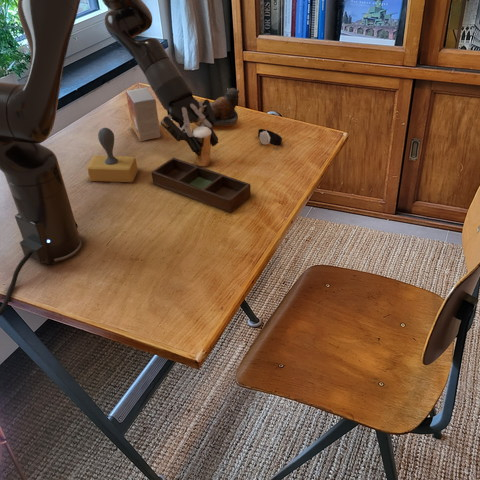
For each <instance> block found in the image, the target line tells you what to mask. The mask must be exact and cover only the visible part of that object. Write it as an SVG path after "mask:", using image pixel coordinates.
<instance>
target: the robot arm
mask: <svg viewBox="0 0 480 480" xmlns="http://www.w3.org/2000/svg"><path fill="white" fill-rule="evenodd" d="M102 3H103V4H104V5H105V7H107V8H108V9H110V10H109V11H108V12H106V14H105V16H104V25H105V29H106V31H107V33H108V34H109V35H110V36H111V37H112V38H113V40H115V41H116V42H117V43H118V44H120V45H121V46H122V48H124V49H125V50H126V51H127V52H128V53H129V54H130V55H131V56H132V59H134V60H135V62H136V63H137V66H138V67H139V69H140V71H142V73H143V74H144V76H145V79H146V81H147V83H148V85H149V86H150V89H151V90H152V91H153V93H154V94H155V96H156V98H157V99H158V101H159V103H160V104H161V106H162V108H163V109H164V110H165V111H166V112H167V115H166V116H164V117H163V119H162V120H161V121H160V125H161V126H162V128H163V129H165V130H166V131H167V132H168V133H169V135H170V136H172V138H173V139H174V140H176V141H177V142H181V141H184V142H185V143H187V145H188V147H189V148H190V150H191V152H192V153H194V154H195V153H196V154H198V153H200V152H201V151H202V149H201V147H200V145H199V144H198V142H197V140H196V139H195V137H194V136H193V137H192V129H191V124H194V125H195V126H196V127H202V123H203V124H204V127H208V128H209V129H210V130H211V147H215V146H217V145H218V144H219V137H218V135H217V134H216V132H215V131H214V130H213V126H212V125H213V124H214V123H215V122H216V119H215V117H214V114H213V111H212V108H211V105H210V103H211V102H210V100H209V99H205V100H203V101H199V100H198V99H196V98H195V97H194V95H193V92H192V90H191V88H190V87H189V85H188V83H187V82H186V80H185V78H184V77H183V75H182V73H181V72H180V70H179V69H178V67H177V66H176V64H175V63H174V62H173V60H172V59H171V58H170V56H169V55H168V53H167V51H166V49H165V47H164V46H163V45H162V43H161V42H160V40H159V39H158V38H155V37H150V38H145V39H140V40H139V39H138V40H137V39H134V38H135V37H136V38H137V36H139V35H141V34H143V33H144V32H146V31H148V30H149V29H150V28H151V27H152V25H153V15H152V11H151V10H150V8H149V7H148V6H147V5H146V3H145V2H144V1H143V0H102ZM80 4H81V0H17V13H18V19H19V23H20V26H21V28H22V31H23V33H24V36H25V38H26V41H27V44H28V47H29V51H30V64H29V68H28V73H27V76H26V80H25V82H24V83H23V84H20V83H8V82H0V171H1V172H2V173H3V174H4V177H5V179H6V180H5V181H6V182H7V185H8V188H9V190H10V193H11V197H12V200H13V202H14V204H15V205H14V206H15V208H16V210H17V213H16V214H15V215H14V218H15V221H16V224H17V226H18V230H19V232H20V234H21V237H22V238H21V239H22V240H20V241H19V245H20V247H21V250H22V252H23V255H24V256H23V257H22V259H21V260H20V262H19V263H18V264H17V266H16V268H15V270H14V271H13V275H12V278H11V280H10V283H9V287H8V289H7V292H6V294H5V297H4V300H3V302H2V304H1V306H0V317H1V316H2V315H3V313H4V312H5V310H6V308H7V307H8V305H9V302H10V300H11V297H12V294H13V292H14V289H15V287H16V284H17V280H18V277H19V274H20V272H21V270H22V268H23V267H24V265H25V264H26V263H27V262H28V260H29V259H31V260H33V261H36V262H37V263H40V264H42V263H44V264H46V265H47V266H52V265H53V264H55V263H61V262H63V261H64V262H65V261H66V260H70V259H71V258H72V257H74V256H75V255H78V253H79V252H80V250H81V249H82V246H83V242H82V238H81V236H80V233H79V226H78V224H77V222H76V219H75V216H74V212H73V209H72V205H71V201H70V199H69V195H68V192H67V188H66V185H65V181H64V178H63V173H62V170H61V167H60V164H59V161H58V160H59V159H58V157H57V155H56V154H55V153H54V151H53V150H51V149H50V148H48V147H47V146H44V145H42V144H41V143H44V142H45V141H47V139H48V138H49V136H50V135H51V133H52V131H53V128H54V125H55V121H56V117H57V110H58V104H59V100H60V99H59V98H60V91H61V86H62V85H61V84H62V79H63V72H64V68H65V67H64V66H65V62H66V58H67V57H66V56H67V52H68V49H69V44H70V40H71V36H72V33H73V30H74V26H75V23H76V19H77V16H78V12H79V8H80ZM199 108H200V109H201V111H203V114H204V115H203V114H202V113H201V112H200V111H199ZM198 118H199V120H198ZM204 119H205V121H204ZM176 123H177V124H176Z"/></svg>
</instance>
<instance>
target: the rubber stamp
mask: <svg viewBox="0 0 480 480" xmlns="http://www.w3.org/2000/svg"><path fill="white" fill-rule="evenodd" d="M97 139H98V142H99V143H100V145H101V147H102V148H103V150H104V151H105V153H106V155H93V157H92V158H91V159H90V162H89V163H88V164H87V166H86V170H87V175H88V178H89V182H107V183H109V182H110V183H111V182H112V183H133V182H134V180H135V178H136V175H137V174H138V172H139V170H138V163H137V158H136V156H126V155H125V156H122V155H121V156H120V155H114V152H113V151H114V145H115V133H114V131H113V130H111V128H108V127H102V128H100V130H99V131H98V133H97Z"/></svg>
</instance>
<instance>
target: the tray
mask: <svg viewBox="0 0 480 480" xmlns="http://www.w3.org/2000/svg"><path fill="white" fill-rule="evenodd" d="M150 172H151V178H152V184H153V185H156V186H157V187H160V188H163V189H165V190H168V191H171V192H174V193H177V194H179V195H182V196H184V197H187V198H190V199H192V200H195V201H197V202H200V203H203V204H205V205H208V206H211V207H214V208H216V209H219V210H222V211H224V212H227V213H230V214H231V213H233V212H234V211H235V210H236V209H237V208H239V207H240V206H241V205H242V204H243V203H245V202H246V201H247V200H249V198H251V197H252V190H251V189H252V188H251V183H249V182H245V181H243V180H240V179H237V178H234V177H231V176H228V175H225V174H222V173H219V172H217V171H214V170H212V169H211V170H210V169H208V168H205V167H203V166H199V165H198V164H194V163H190V162H188V161H185V160H183V159H179V158H176V157H172V158H170V159H169V160H167V161H165V162H164V163H162V164H161V165H160V166H158V167H156V168H154V169H153V170H151V171H150Z"/></svg>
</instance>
